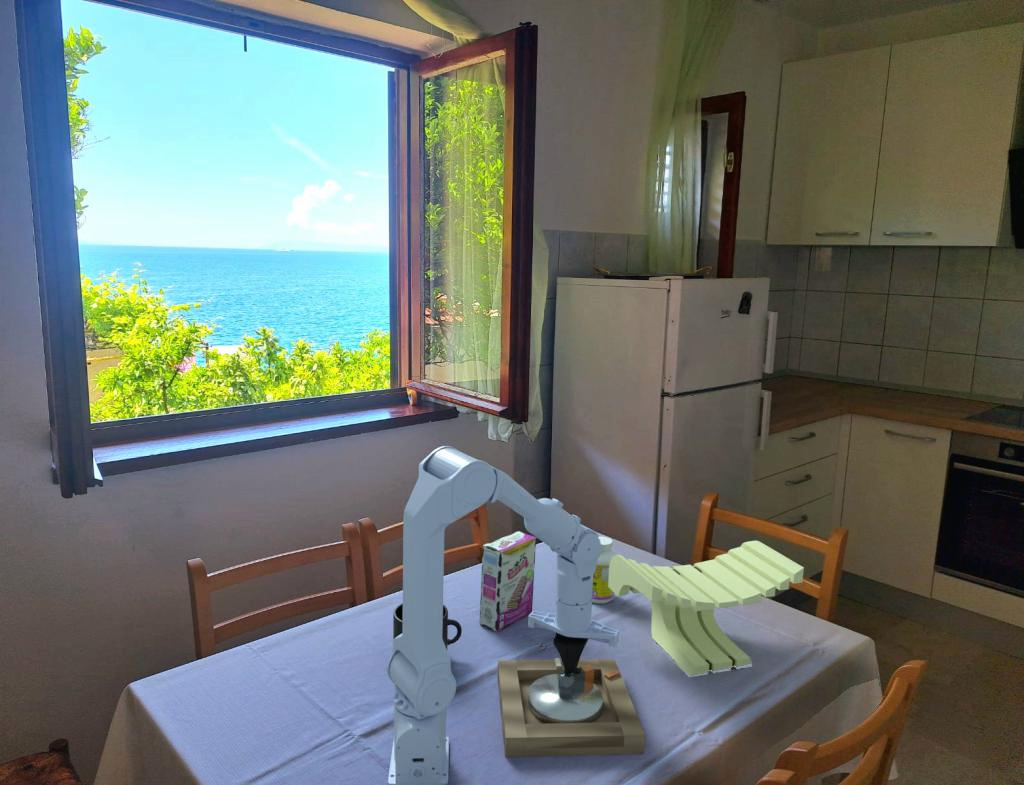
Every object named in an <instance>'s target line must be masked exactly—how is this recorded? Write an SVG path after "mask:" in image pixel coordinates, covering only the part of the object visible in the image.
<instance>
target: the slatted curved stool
mask: <svg viewBox="0 0 1024 785" xmlns="http://www.w3.org/2000/svg"><path fill="white" fill-rule="evenodd" d="M804 569H805V567H804V566H802V565H800V564H798V563H797V562H795V561H794V560H791V559H790V558H789V557H786V556H785V555H783V554H782V553H780V552H778V551H776V550H775V549H773V548H771V547H770V546H768V545H766V544H764V543H763V542H761V541H759V540H751V541H750V540H749V541H745V542H742V543H741V545H740V546H739V547H738V546H737V547H735V548H731V549H729V550H728V551H727V553H723V554H719V555H715V557H714V559H710V560H705V561H700V562H696V563H694V564H693V565H691V564H685V565H673V566H672V567H670V566H664V565H663V566H657V565H652V566H651V565H649V564H648V563H643V562H639V563H638V561H636V560H634V559H630V558H625V557H624V556H623V555H621V554H616V555H614V556H613V557H612V558H611V561H610V565H609V579H608V587H609V588H610V589H611V590H612V591H613V592H614V595H616V597H618V598H619V597H623V596H625V595H628V594H629V592H632V594H640V593H641V594H642V595H643V596H644V597H645V598H647V599H648V600H649V601H650V604H651V606H650V607H651V626H650V627H651V629H650V630H651V633H650V634H651V637H652V640H653V639H654V640H655V641H656V642H657V643H658V644H659V645H660V646H661V647H662V648H663V649H664V650H665V651H666V652H667V653H669V655H670V656H671V657H672V659H674V660H675V661H676V663H677V664H678V665H679V666H680V667H681V668H682V669H683V670H684V671H685V672H686V673H688V674H689V675H690V676H693V675H698V674H704V673H710V672H709V670H712V671H718V670H724V669H729V668H732V666H734V665H735V666H736V667H739V666H744V665H748V664H753V663H752V658H751V657H750V656H749V655H747V654H746V653H745V652H744V651H743V650H742V649H741V648H740V647H738V645H737V644H736V643H734V642H733V641H732V640H731V639H730V638H729V637H728V636H727V635H726V633H724V631H723V630H722V629H721V627H720V626H719V625H718V623H717V621H716V619H715V614H714V612H715V611H714V610H715V607H716V608H718V609H724V608H731V607H738V605H739V604H740V605H741V606H746V605H752V604H753V605H755V604H761V603H762V601H761V600H762V596H763V597H765V598H769V597H775V596H776V589H777V590H778V591H785V590H789V589H790V583H792V584H793V585H794V584H800V583H801V584H802V583H803V579H804ZM672 659H671V660H672ZM676 663H675V664H676ZM677 664H676V665H677ZM678 665H677V666H678ZM679 666H678V667H679ZM680 667H679V668H680ZM681 668H680V669H681ZM682 669H681V670H682ZM732 669H733V668H732ZM683 670H682V671H683Z"/></svg>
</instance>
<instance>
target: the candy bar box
mask: <svg viewBox="0 0 1024 785" xmlns="http://www.w3.org/2000/svg"><path fill="white" fill-rule="evenodd" d="M536 547H537V537H536V536H534V535H533V534H528V533H525V532H522V531H520V530H519V531H515V532H513V533H511V534H508V535H506V536H503V537H501V538H500V537H499V538H498V539H496V540H493V541H490V542H488V543H485V544H483V545H482V554H481V555H482V558H481V578H480V580H481V584H480V605H479V607H480V608H479V625H481V626H482V627H484V628H487V629H488V630H491V631H493V632H495V633H499V632H501V631H502V630H504V629H505V628H508V627H509V626H511V625H513V624H515V623H516V622H518V621H519V620H522V619H524V618H525V617H527V616H529V615H530V614H531V612H532V611H533V602H534V601H533V600H534V581H535V568H536V566H535V565H536V549H537V548H536Z"/></svg>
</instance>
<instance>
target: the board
mask: <svg viewBox="0 0 1024 785" xmlns="http://www.w3.org/2000/svg"><path fill="white" fill-rule="evenodd" d="M588 664H589V665H591V666H592V667H593V668H594V684H595V685H596V686H597V687H598V688H599V689H600V691H601V692H602V695H603V705H602V713H601V715H600V716H599V717H598V719H596V720H595V721H594V722H592V723H553V724H547V723H545V722H543V721H541V720H540V719H538V718H537V717H536V716H534V715H533V713H532V712H531V711H530V709H529V706H528V691H529V688H530V686H531V685H532V683H533V682H535V681H536V680H537V679H539V678H541V677H544V676H547V675H552V674H559V672H561V671H564V666H563V663H562V660H561V657H554V659H524V660H523V659H519V660H517V659H516V660H514V659H513V660H512V659H511V660H506V659H505V660H504V659H503V660H501V659H500V660H499V659H498V660H497V675H496V676H497V687H498V697H499V706H500V715H501V727H502V729H501V730H502V736H503V738H502V739H503V746H504V747H503V748H504V756H505V758H512V757H513V758H514V757H515V758H519V757H523V758H524V757H525V758H526V757H561V756H564V757H565V756H566V757H567V756H568V757H569V756H598V755H599V756H603V755H604V756H605V755H607V756H608V755H612V756H613V755H639V754H638V753H644V752H645V742H646V740H645V739H646V734H645V732H644V728H643V727H642V724H641V721H640V719H639V716H638V714H637V712H636V709H635V706H634V704H633V701H632V698H631V697H630V693H629V691H628V689H627V686H626V684H625V681H624V679H623V676H622V673H621V671H620V669H619V665H618V664H617V661H616V658H605V659H604V658H601V659H599V658H593V659H592V658H591V659H590V658H589V659H585V658H583V659H582V658H581V659H579V662H578V666H577V668H579V667H582V666H585V665H588Z"/></svg>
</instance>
